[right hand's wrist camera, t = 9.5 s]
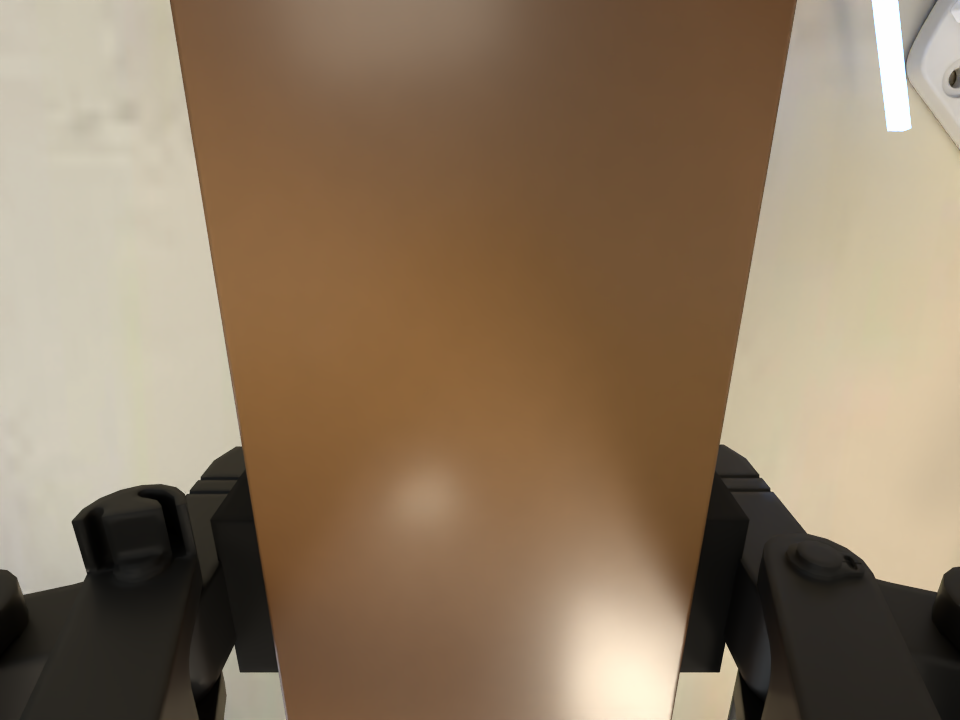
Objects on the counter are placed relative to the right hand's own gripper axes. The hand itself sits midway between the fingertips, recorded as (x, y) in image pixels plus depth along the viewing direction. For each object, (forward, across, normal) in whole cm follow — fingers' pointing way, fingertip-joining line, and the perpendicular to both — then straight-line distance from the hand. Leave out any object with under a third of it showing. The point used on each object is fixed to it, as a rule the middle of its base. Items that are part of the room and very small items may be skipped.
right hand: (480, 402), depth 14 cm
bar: (0, 0, -26) cm, 26 cm away
